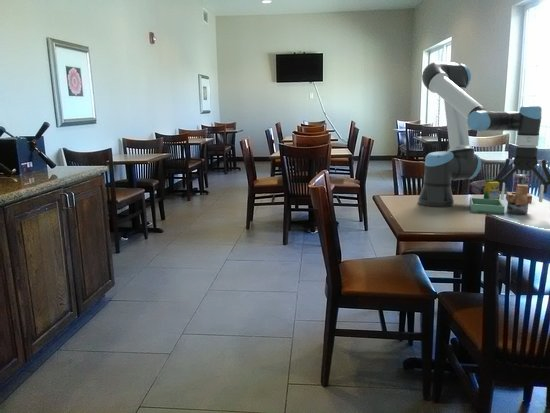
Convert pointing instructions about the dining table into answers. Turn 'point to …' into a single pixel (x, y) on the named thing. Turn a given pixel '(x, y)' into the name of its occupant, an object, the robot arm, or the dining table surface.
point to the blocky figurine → (512, 206)
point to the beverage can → (525, 182)
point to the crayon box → (491, 189)
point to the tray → (486, 205)
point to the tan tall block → (519, 195)
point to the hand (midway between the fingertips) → (521, 200)
